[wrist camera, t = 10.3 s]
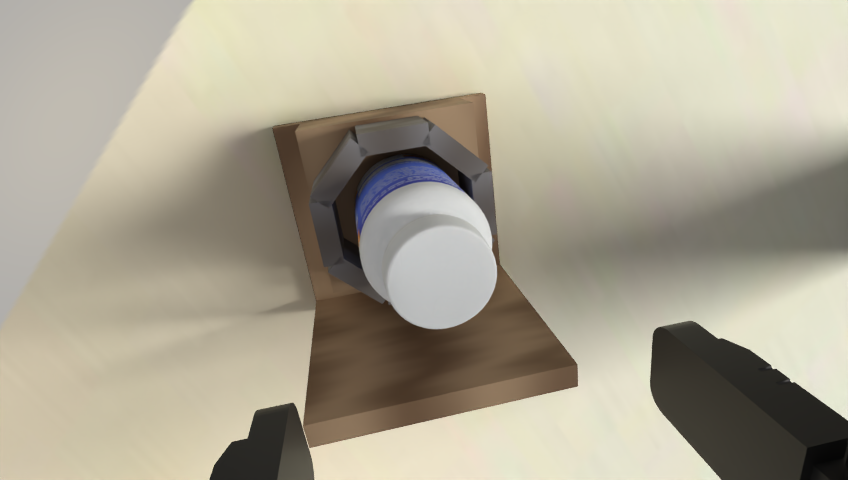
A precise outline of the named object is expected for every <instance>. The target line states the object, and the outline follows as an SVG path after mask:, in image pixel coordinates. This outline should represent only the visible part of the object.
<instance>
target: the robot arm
mask: <svg viewBox="0 0 848 480" xmlns="http://www.w3.org/2000/svg"><path fill="white" fill-rule="evenodd" d="M650 387H651V392H652V396H653V398H654V401H655V403H656V405H657V407H658V408H659V410H660V411H661V412H662V413H663V415H664V416H665V417H666V418H667V419H668V420H669V421H670V422H671V424H672V425H673V426H674V427H675V428H676V429H677V430H678V431H679V433H680V434H681V435H682V436H683V437H684V438H685V439H686V440H687V441H688V443H689V444H690V445H691V446H692V447H693V448H694V449H695V450H696V452H697V453H698V454H699V455H700V456H701V457H702V458H703V459H704V461H705V462H706V463H707V464H708V465H709V466H710V467H711V468H712V470H713V471H714V472H715V473H716V474H717V475H718V476H719V477H720V479H721V480H848V420H846V419H845V418H843V417H842V416H841V415H839V414H838V413H836V412H835V411H834V410H832V409H831V408H830V407H828V406H827V405H825V404H824V403H823V402H821V401H820V400H818V399H817V398H816V397H814V396H813V395H811V394H810V393H809V392H807V391H806V390H805V389H803V388H802V387H800V386H799V385H798V384H796V383H795V382H794V383H791V381H790V379H789V378H788V377H786V376H785V375H784V374H782V373H781V372H780V371H778V370H777V369H772V367H771V365H770V364H768V363H767V362H766V361H764V360H763V359H761V358H760V357H759V356H757V355H756V354H755V353H753V352H752V351H750V350H749V349H746V348H744V347H742V346H739V345H737V344H734V343H732V342H730V341H727V340H725V339H723V338H721V339H717V338H716V337H715V336H713V335H712V334H711V333H709V332H708V331H707V330H705V329H704V328H703V327H701V326H700V325H699V324H697V323H696V322H693V321H687V322H682V323H677V324H672V325H668V326H663V327H658V328H656V330H655V331H654V333H653V342H652V359H651V377H650ZM210 480H314V471H313V464H312V459H311V455H310V451H309V448H308V445H307V441H306V438H305V435H304V431H303V428H302V425H301V421H300V418H299V414H298V411H297V408H296V406H295V404H294V403H289V404H284V405H279V406H275V407H270V408H265V409H260V410H257V411H256V412H255V414H254V417H253V421H252V424H251V428H250V432H249V436H248V439H243V440H239V441H234V442H231V444H230V445H229V446H228V448H227V449H226V450H225V452H224V453H223V454H222V456H221V457H220V458H219V460H218V461H217V462H216V464H215V465H214V468H213V471H212V474H211V477H210Z"/></svg>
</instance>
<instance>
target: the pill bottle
mask: <svg viewBox="0 0 848 480" xmlns="http://www.w3.org/2000/svg"><path fill="white" fill-rule="evenodd" d="M354 212H355V220H356V228H357V235H358V244H359V252H360V259H361V264H362V267H363V271H364V273H365V276H366V278H367V280H368V281H369V283H370V284H371V286H372V287H373V288H374V289H375V291H376V292H377V293H378V294H379V295H380V296H382V297H383V298H384V299H386V300H387V301H389V302H390V303H391V304H392V306H393V308H394V309H395V310H396V312H397V313H398V314H399V315H400V316H401V317H403V318H404V319H405V320H407V321H408V322H410V323H412V324H414V325H417V326H419V327H423V328H428V329H445V328H450V327H454V326H457V325H460V324H462V323H464V322H466V321H468V320H469V319H471V318H472V317H474V316H475V315H476V314H478V313H479V312H480V311H481V310H482V309H483V308H484V306H485V305H486V304H487V302H488V301H489V299H490V297H491V295H492V293H493V291H494V288H495V285H496V280H497V265H496V260H495V257H494V254H493V252H492V236H491V230H490V227H489V224H488V221H487V219H486V217H485V215H484V213H483V212H482V210H481V209H480V208H479V206H478V205H477V204H476V203H475V202H474V201H473V200H472V199H471V198H470V197H469V196H468V195H467V194H466V193H465V192H464V191H463V190H462V189H461V188H460V187H459V186H458V185H457V184H456V183H455V182H454V181H453V180H452V179H451V178H450V177H449V176H448V175H447V174H446V173H445V172H444V171H443V170H442V169H441V168H440V167H439V166H438V165H437V164H435V163H434V162H432V161H431V160H429V159H427V158H425V157H422V156H418V155H412V154H401V155H395V156H391V157H388V158H386V159H383V160H381V161H379V162H378V163H376V164H375V165H373V166H372V167H371V168H370V169H369V170H368V171H367V172H366V173H365V175H364V176H363V177H362V179H361V181H360V183H359V185H358V187H357V190H356V194H355V200H354Z"/></svg>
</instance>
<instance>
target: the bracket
mask: <svg viewBox="0 0 848 480" xmlns="http://www.w3.org/2000/svg"><path fill="white" fill-rule="evenodd" d="M272 129H273V133H274V136H275V140H276V144H277V148H278V152H279V156H280V160H281V164H282V168H283V172H284V176H285V180H286V184H287V187H288V191H289V195H290V199H291V203H292V207H293V211H294V215H295V219H296V223H297V227H298V231H299V235H300V239H301V242H302V246H303V250H304V254H305V258H306V262H307V266H308V270H309V274H310V278H311V282H312V286H313V290H314V293H315V297H316V310H315V319H314V328H313V338H312V347H311V357H310V366H309V375H308V385H307V394H306V403H305V413H304V422H303V427H304V431H305V434H306V437H307V441H308V444H309V447H310V448H311V447H316V446H320V445H324V444H329V443H333V442H338V441H342V440H346V439H351V438H355V437H359V436H364V435H368V434H372V433H377V432H381V431H385V430H390V429H394V428H398V427H403V426H407V425H412V424H416V423H420V422H425V421H429V420H433V419H438V418H442V417H446V416H451V415H455V414H459V413H464V412H468V411H472V410H477V409H481V408H486V407H490V406H494V405H499V404H503V403H507V402H512V401H516V400H520V399H525V398H529V397H533V396H538V395H542V394H546V393H551V392H555V391H560V390H564V389H568V388H573V387H577V386H578V368H577V363H576V362H575V361H574V359H573V358H572V357H571V355H570V354H569V353H568V352H567V350H566V349H565V348H564V346H563V345H562V344H561V343H560V341H559V340H558V339H557V337H556V336H555V335H554V334H553V332H552V331H551V330H550V328H549V327H548V326H547V325H546V323H545V322H544V321H543V319H542V318H541V317H540V316H539V314H538V313H537V312H536V310H535V309H534V308H533V307H532V305H531V304H530V303H529V301H528V300H527V299H526V298H525V296H524V295H523V294H522V292H521V291H520V290H519V289H518V287H517V286H516V285H515V284H514V282H513V281H512V280H511V278H510V277H509V276H508V275H507V273H506V272H505V271H504V269H503V268H502V267H501V266H500V261H499V250H498V238H497V226H496V214H495V203H494V191H493V179H492V168H491V156H490V144H489V132H488V121H487V109H486V97H485V94H483V93H477V94H471V95H465V96H459V97H453V98H446V99H440V100H434V101H428V102H421V103H415V104H409V105H403V106H396V107H390V108H384V109H378V110H371V111H365V112H359V113H353V114H346V115H340V116H334V117H328V118H321V119H315V120H309V121H303V122H296V123H290V124H284V125H278V126H274V127H273V128H272ZM401 154H412V155H418V156H422V157H425V158H427V159H429V160H431V161H432V162H434V163H435V164H437V165H438V166H439V167H440V168H441V169H442V170H443V171H444V172H445V173H446V174H447V175H448V176H449V177H450V178H451V179H452V180H453V181H454V182H455V183H456V184H457V185H458V186H459V187H460V188H461V189H462V190H463V191H464V192H465V193H466V194H467V195H468V196H469V197H470V198H471V199H472V200H473V201H474V202H475V203H476V204H477V205H478V206H479V208H480V209H481V210H482V212H483V213H484V215H485V217H486V219H487V221H488V224H489V227H490V230H491V236H492V252H493V254H494V257H495V260H496V265H497V280H496V285H495V288H494V291H493V293H492V295H491V297H490V299H489V301H488V302H487V304H486V305H485V306H484V308H483V309H482V310H481V311H480V312H479V313H478V314H476V315H475V316H474V317H472V318H471V319H469V320H468V321H466V322H464V323H462V324H460V325H457V326H454V327H450V328H445V329H428V328H423V327H419V326H417V325H414V324H412V323H410V322H408V321H407V320H405V319H404V318H403V317H401V316H400V315H399V314H398V313H397V312H396V310H395V309H394V308H393V306H392V304H391V303H390V302H389V301H387V300H386V299H384V298H383V297H382V296H380V295H379V294H378V293H377V292H376V291H375V289H374V288H373V287H372V286H371V284H370V283H369V281H368V280H367V278H366V276H365V273H364V271H363V267H362V264H361V259H360V252H359V244H358V235H357V228H356V220H355V212H354V200H355V194H356V190H357V187H358V185H359V183H360V181H361V179H362V177H363V176H364V175H365V173H366V172H367V171H368V170H369V169H370V168H371V167H372V166H373V165H375V164H376V163H378V162H379V161H381V160H383V159H386V158H388V157H391V156H395V155H401Z"/></svg>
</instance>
